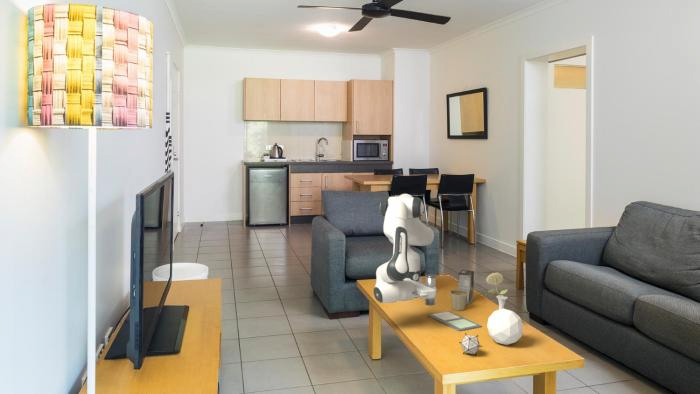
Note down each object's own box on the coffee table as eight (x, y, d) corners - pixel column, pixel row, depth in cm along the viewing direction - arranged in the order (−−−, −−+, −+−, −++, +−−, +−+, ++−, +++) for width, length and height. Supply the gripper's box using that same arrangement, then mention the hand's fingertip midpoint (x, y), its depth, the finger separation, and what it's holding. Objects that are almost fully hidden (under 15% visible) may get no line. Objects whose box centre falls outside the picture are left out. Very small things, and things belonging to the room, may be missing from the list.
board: (427, 315, 251) (428, 314, 251) (449, 312, 257) (449, 310, 257) (459, 331, 230) (459, 329, 230) (481, 327, 236) (481, 325, 236)
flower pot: (468, 312, 257) (468, 295, 256) (449, 311, 258) (449, 294, 258) (467, 306, 266) (468, 290, 265) (449, 305, 268) (449, 289, 267)
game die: (465, 361, 206) (454, 338, 210) (484, 354, 206) (473, 330, 210) (467, 359, 198) (456, 334, 202) (487, 351, 198) (476, 327, 202)
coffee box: (461, 298, 281) (462, 269, 280) (473, 299, 278) (474, 270, 277) (457, 302, 273) (458, 272, 271) (469, 304, 270) (470, 274, 268)
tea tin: (422, 303, 242) (423, 274, 240) (431, 302, 244) (432, 273, 242) (428, 306, 237) (429, 276, 236) (437, 304, 239) (438, 275, 238)
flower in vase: (514, 323, 241) (516, 271, 239) (513, 331, 230) (515, 277, 228) (485, 320, 245) (487, 268, 243) (483, 327, 235) (485, 274, 232)
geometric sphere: (494, 354, 217) (474, 323, 221) (518, 336, 224) (498, 306, 227) (512, 349, 205) (490, 316, 208) (537, 330, 211) (515, 298, 215)
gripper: (420, 289, 224) (445, 286, 231) (395, 278, 243) (420, 275, 249) (420, 303, 225) (445, 299, 231) (395, 291, 243) (419, 288, 249)
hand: (432, 287), depth 240 cm, fingers closed on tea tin, 5 cm apart
